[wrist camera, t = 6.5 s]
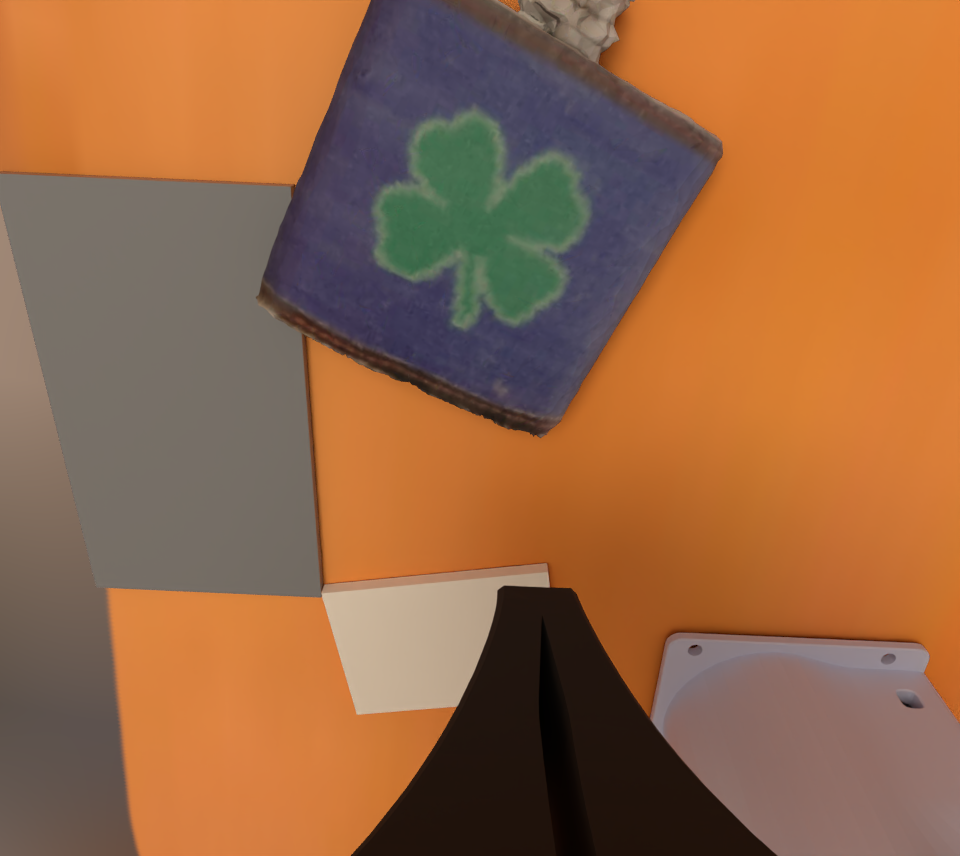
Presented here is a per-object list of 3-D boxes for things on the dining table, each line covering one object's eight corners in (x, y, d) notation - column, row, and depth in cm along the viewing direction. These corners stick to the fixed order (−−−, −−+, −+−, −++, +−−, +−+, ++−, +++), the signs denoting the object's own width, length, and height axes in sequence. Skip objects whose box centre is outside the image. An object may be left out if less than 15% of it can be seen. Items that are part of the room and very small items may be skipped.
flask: (547, 414, 23) (755, 73, 18) (556, 459, 20) (802, 72, 16) (266, 280, 21) (427, -132, 17) (235, 310, 18) (416, -172, 14)
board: (294, 184, 20) (290, 186, 19) (323, 590, 26) (321, 597, 26) (1, 171, 20) (-8, 173, 19) (101, 580, 26) (96, 587, 26)
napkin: (547, 563, 25) (548, 571, 25) (561, 687, 28) (562, 697, 28) (324, 584, 26) (321, 593, 26) (358, 704, 29) (356, 714, 28)
